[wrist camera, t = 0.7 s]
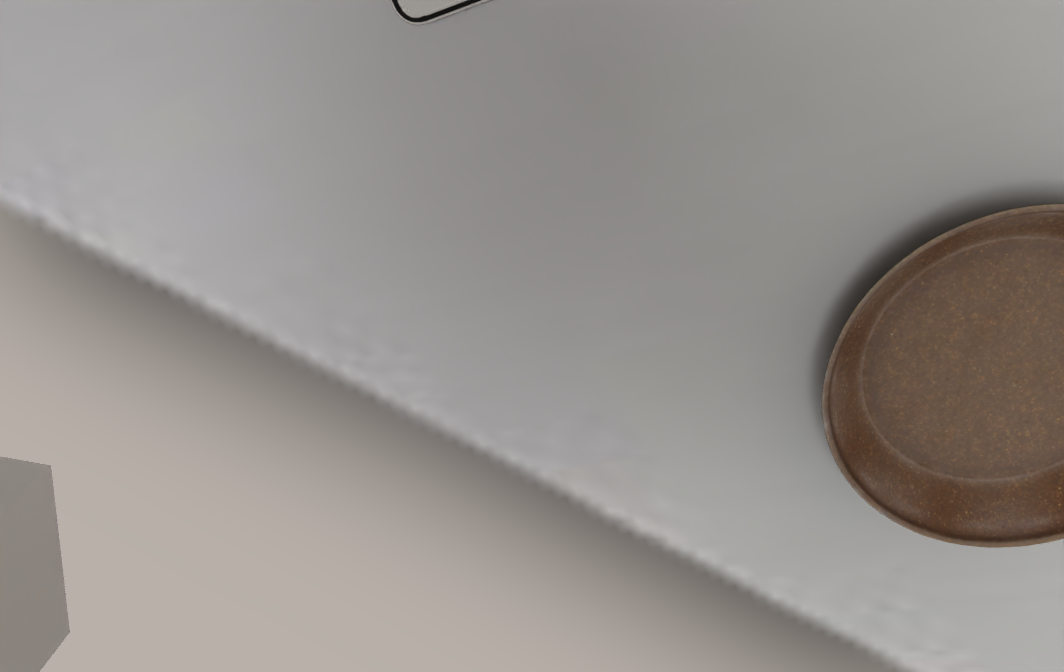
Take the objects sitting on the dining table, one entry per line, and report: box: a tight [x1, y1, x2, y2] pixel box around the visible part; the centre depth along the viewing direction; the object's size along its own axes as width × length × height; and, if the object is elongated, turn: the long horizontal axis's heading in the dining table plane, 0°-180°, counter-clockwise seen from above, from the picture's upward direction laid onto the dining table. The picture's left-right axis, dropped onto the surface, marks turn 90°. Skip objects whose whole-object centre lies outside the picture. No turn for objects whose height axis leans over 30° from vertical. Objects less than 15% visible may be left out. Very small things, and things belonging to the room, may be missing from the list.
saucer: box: [822, 204, 1064, 547], centre depth 36 cm, size 15×15×3 cm
